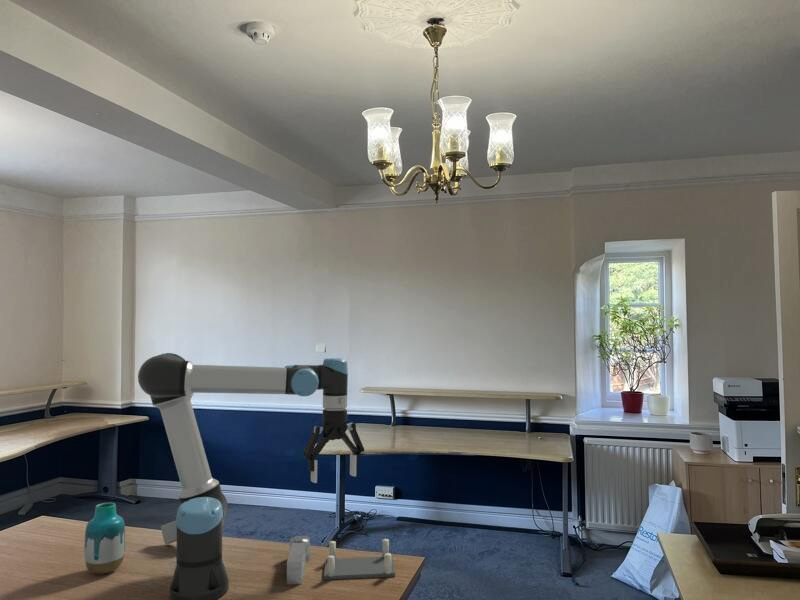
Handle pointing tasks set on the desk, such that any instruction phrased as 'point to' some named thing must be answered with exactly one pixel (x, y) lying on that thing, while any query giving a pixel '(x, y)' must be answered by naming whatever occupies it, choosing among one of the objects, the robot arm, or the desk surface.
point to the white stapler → (169, 532)
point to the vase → (104, 540)
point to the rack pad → (359, 565)
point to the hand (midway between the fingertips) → (333, 478)
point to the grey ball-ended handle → (297, 559)
